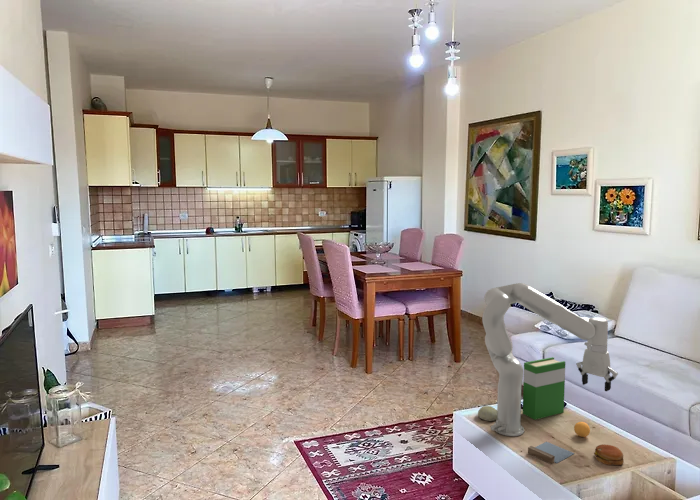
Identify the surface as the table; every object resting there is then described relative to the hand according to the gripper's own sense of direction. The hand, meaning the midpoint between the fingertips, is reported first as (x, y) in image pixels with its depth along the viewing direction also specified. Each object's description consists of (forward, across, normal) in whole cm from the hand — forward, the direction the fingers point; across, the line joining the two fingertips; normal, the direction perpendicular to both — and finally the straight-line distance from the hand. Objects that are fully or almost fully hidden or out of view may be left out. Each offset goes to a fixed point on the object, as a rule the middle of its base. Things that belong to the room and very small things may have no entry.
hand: (595, 387), depth 215 cm
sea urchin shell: (+19, -35, -26) cm, 47 cm away
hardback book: (+19, -23, -2) cm, 30 cm away
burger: (+19, +16, -20) cm, 32 cm away
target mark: (+18, 0, -32) cm, 37 cm away
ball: (+16, 0, -10) cm, 18 cm away
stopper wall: (+18, 0, -39) cm, 43 cm away
